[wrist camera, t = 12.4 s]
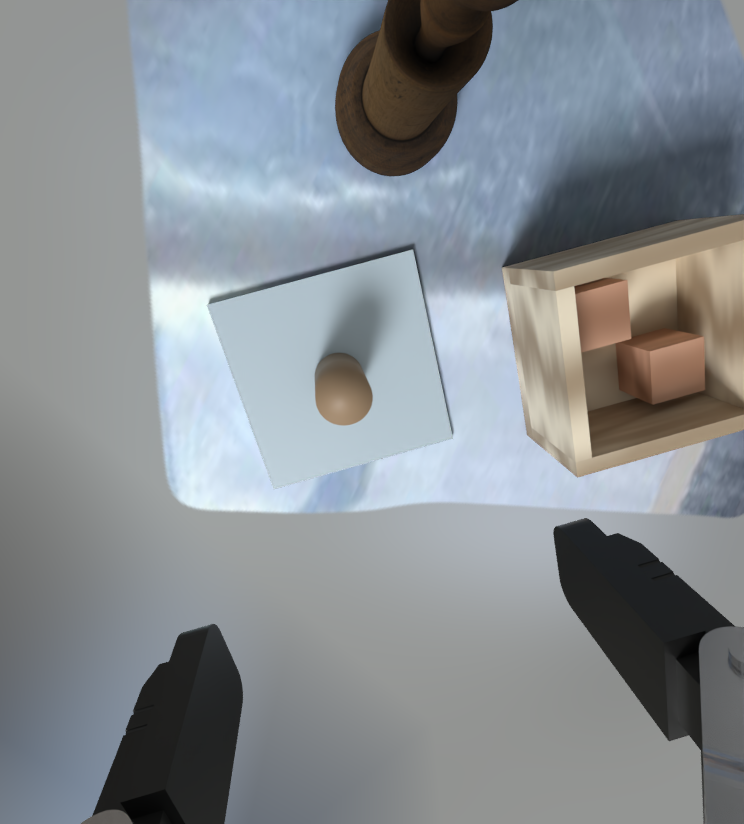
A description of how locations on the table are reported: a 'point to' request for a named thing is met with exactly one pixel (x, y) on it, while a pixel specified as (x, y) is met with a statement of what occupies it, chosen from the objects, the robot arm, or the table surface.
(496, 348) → the table surface
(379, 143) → the mortar and pestle
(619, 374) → the block
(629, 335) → the block
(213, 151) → the table surface
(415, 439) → the lid
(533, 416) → the box
